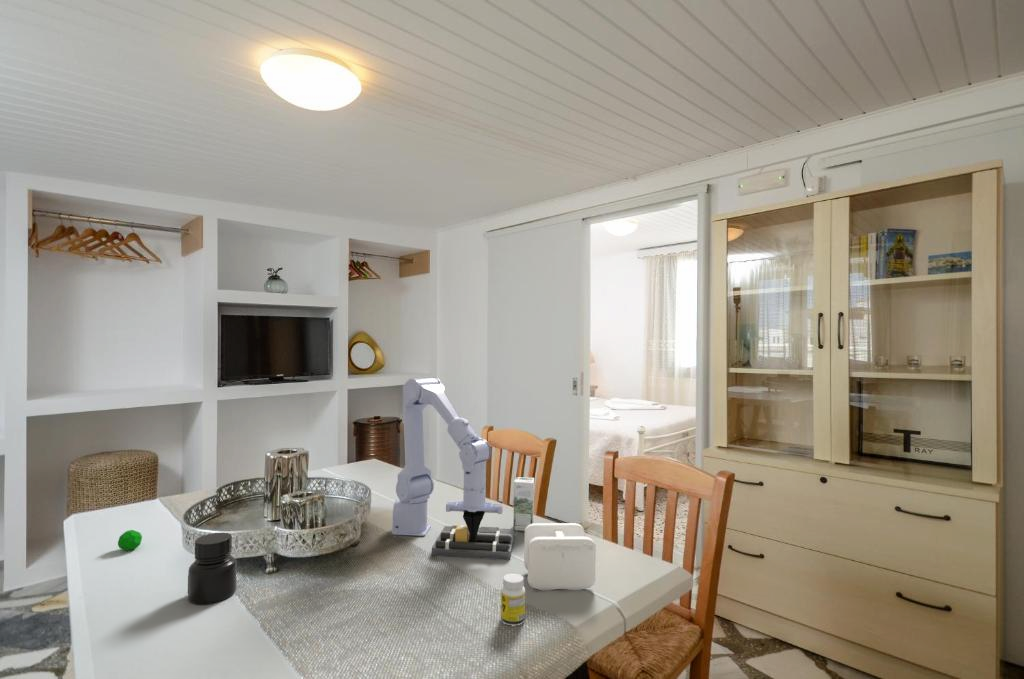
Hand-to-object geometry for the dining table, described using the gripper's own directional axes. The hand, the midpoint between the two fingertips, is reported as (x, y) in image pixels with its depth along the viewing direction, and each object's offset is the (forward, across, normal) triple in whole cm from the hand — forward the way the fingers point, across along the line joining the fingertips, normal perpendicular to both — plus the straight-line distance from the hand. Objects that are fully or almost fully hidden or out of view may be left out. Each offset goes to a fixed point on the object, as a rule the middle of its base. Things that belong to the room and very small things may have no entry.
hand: (473, 540), depth 135 cm
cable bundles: (+1, 0, +1) cm, 1 cm away
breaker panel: (+3, 0, +4) cm, 6 cm away
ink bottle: (+3, -51, -29) cm, 59 cm away
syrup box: (+3, +12, +19) cm, 23 cm away
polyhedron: (+3, -87, -9) cm, 88 cm away
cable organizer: (+3, +22, -14) cm, 26 cm away
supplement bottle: (+3, +13, -32) cm, 35 cm away
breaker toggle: (+1, -3, 0) cm, 3 cm away
